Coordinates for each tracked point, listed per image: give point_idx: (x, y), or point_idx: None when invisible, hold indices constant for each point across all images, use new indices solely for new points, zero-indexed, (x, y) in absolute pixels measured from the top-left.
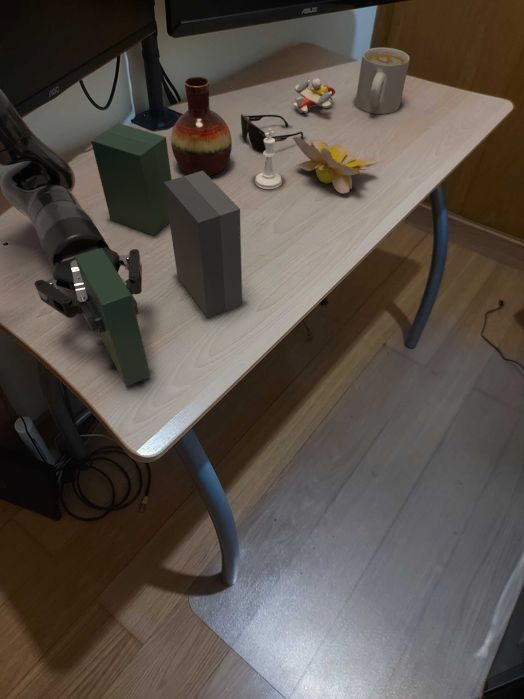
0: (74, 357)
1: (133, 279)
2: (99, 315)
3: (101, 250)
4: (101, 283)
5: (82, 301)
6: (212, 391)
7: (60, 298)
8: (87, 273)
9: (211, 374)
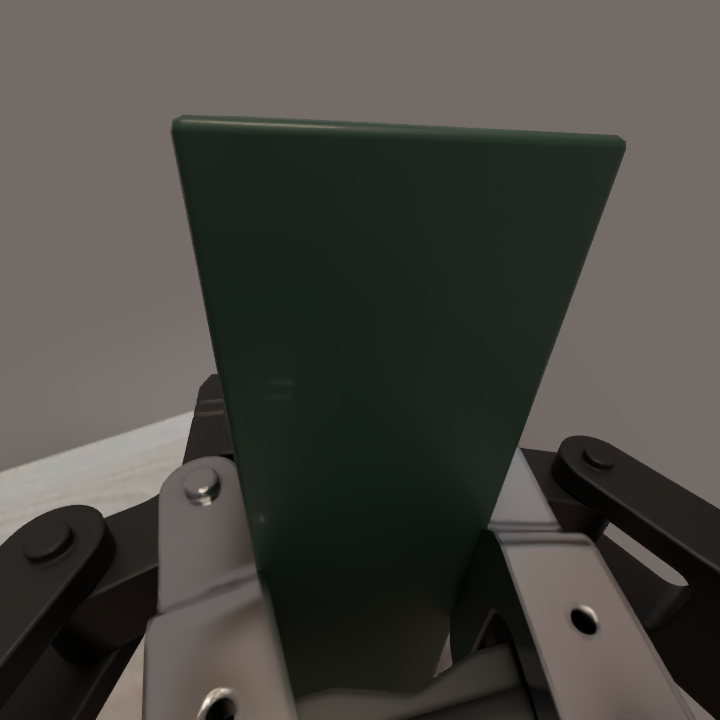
0: None
1: (84, 507)
2: None
3: (219, 116)
4: (346, 121)
5: None
6: (168, 429)
7: (644, 478)
8: (425, 125)
9: (133, 466)
